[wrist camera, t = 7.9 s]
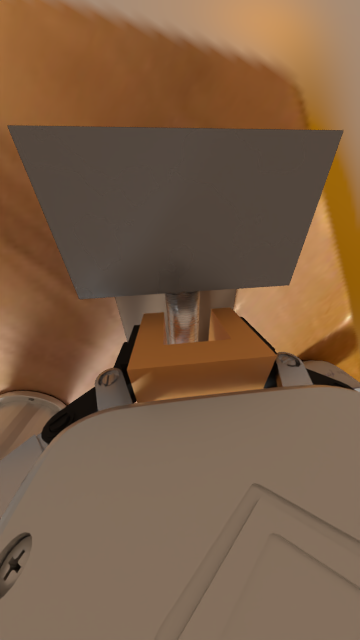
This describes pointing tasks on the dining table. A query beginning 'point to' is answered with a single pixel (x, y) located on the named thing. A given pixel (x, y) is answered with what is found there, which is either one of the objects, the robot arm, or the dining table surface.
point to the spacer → (198, 360)
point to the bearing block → (176, 203)
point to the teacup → (332, 372)
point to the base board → (156, 303)
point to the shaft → (183, 316)
